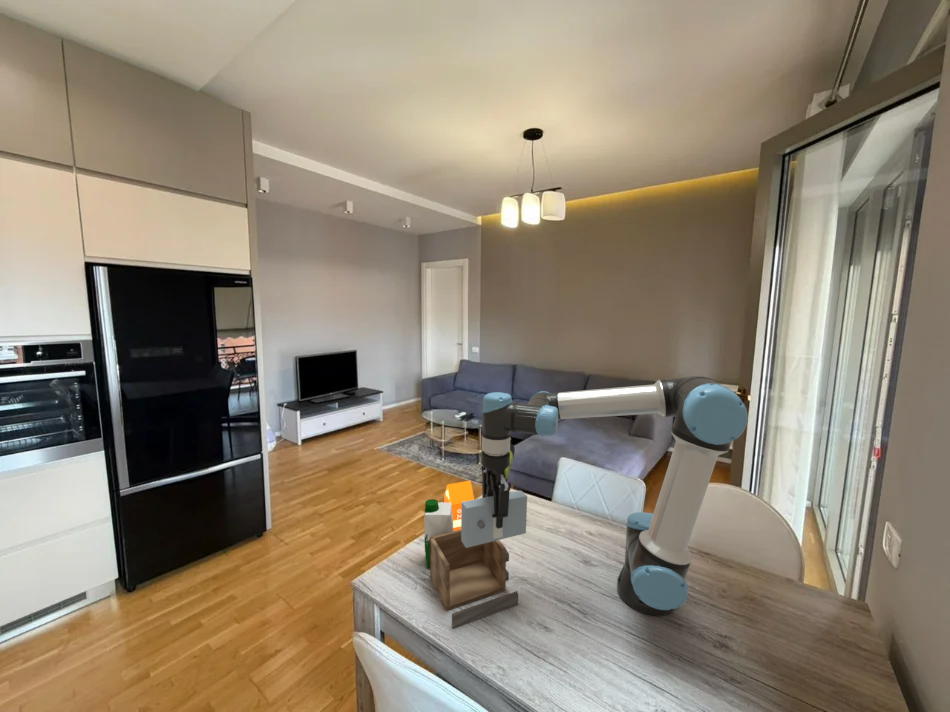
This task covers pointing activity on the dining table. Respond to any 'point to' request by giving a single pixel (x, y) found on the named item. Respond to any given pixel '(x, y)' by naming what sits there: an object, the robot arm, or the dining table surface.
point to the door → (491, 519)
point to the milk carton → (436, 522)
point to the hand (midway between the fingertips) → (494, 532)
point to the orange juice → (458, 499)
